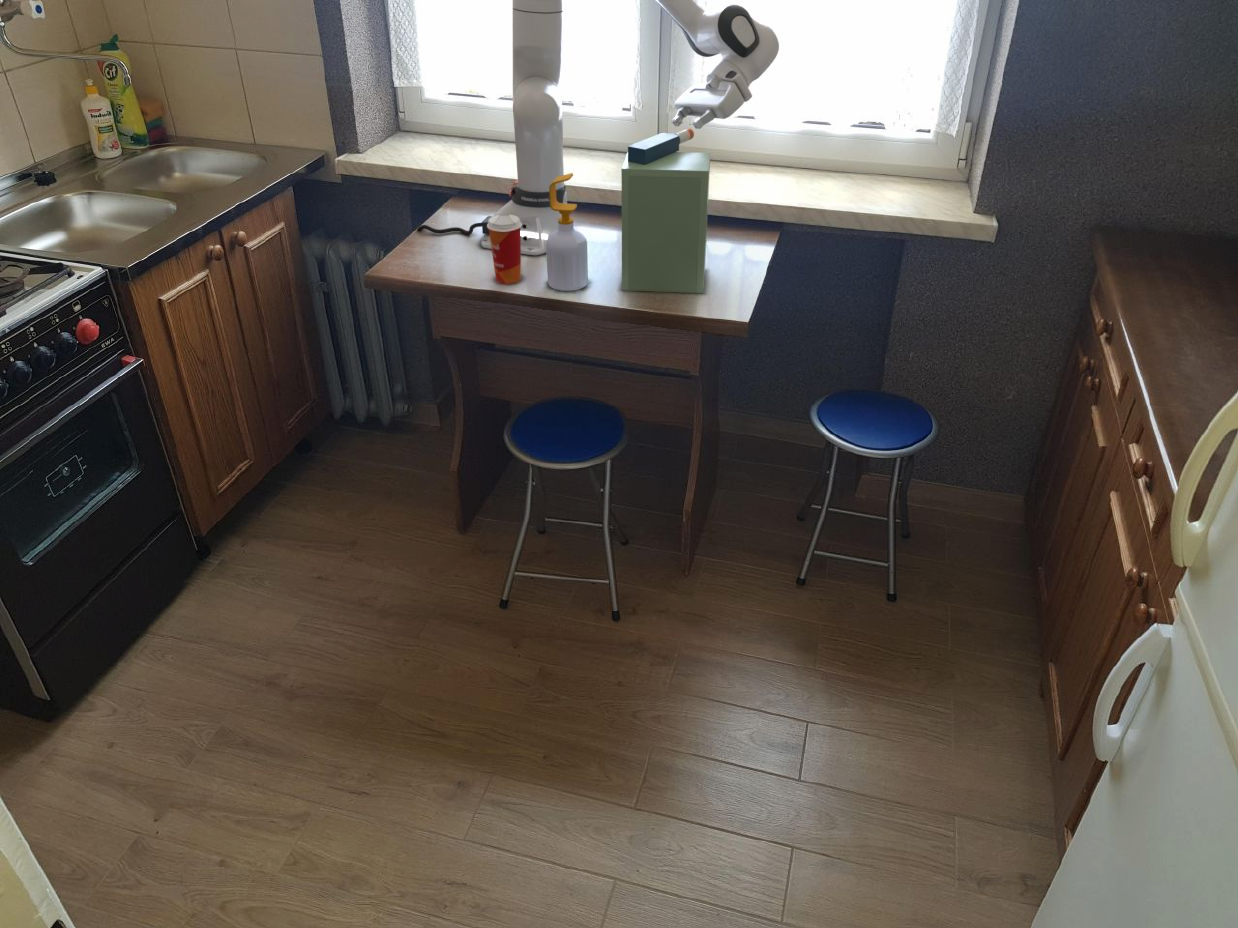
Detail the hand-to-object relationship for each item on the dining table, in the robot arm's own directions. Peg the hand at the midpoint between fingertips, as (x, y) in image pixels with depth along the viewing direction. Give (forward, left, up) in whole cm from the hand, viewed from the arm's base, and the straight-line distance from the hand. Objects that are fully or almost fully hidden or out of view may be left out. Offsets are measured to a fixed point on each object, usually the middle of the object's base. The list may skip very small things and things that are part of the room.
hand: (684, 125), depth 222 cm
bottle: (-2, -19, -1) cm, 19 cm away
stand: (0, -25, -28) cm, 38 cm away
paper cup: (-35, -31, -28) cm, 55 cm away
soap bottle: (-21, -31, -28) cm, 47 cm away
